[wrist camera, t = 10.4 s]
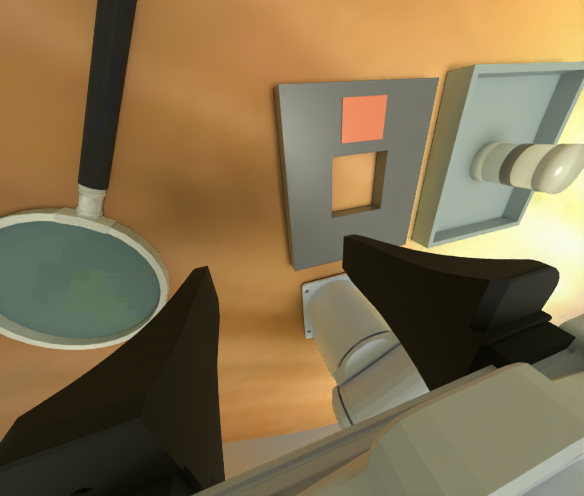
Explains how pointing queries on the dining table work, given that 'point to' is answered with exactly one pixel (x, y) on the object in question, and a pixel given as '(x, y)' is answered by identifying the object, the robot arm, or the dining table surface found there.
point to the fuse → (528, 165)
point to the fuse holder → (348, 141)
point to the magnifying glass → (83, 232)
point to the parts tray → (481, 130)
